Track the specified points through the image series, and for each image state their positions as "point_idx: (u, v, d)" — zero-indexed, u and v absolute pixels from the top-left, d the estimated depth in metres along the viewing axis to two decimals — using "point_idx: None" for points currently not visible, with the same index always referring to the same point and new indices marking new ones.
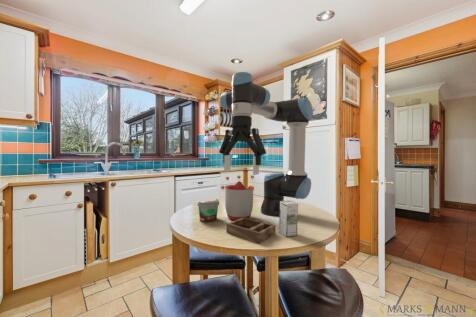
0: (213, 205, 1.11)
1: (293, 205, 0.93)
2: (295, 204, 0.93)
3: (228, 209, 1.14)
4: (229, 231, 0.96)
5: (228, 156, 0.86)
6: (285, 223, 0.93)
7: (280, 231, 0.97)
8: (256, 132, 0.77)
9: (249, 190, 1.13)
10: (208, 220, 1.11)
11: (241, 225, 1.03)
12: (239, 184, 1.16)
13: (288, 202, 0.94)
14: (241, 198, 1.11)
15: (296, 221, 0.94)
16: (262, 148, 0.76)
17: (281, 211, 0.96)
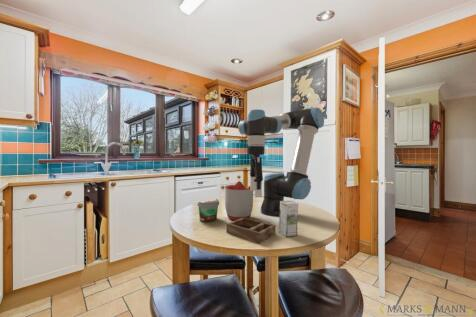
0: (213, 205, 1.11)
1: (293, 205, 0.93)
2: (295, 204, 0.93)
3: (228, 209, 1.14)
4: (229, 231, 0.96)
5: (253, 178, 1.03)
6: (285, 223, 0.93)
7: (280, 231, 0.97)
8: (258, 161, 0.90)
9: (249, 190, 1.13)
10: (208, 220, 1.11)
11: (241, 225, 1.03)
12: (239, 184, 1.16)
13: (288, 202, 0.94)
14: (241, 198, 1.11)
15: (296, 221, 0.94)
16: (259, 175, 0.87)
17: (281, 211, 0.96)
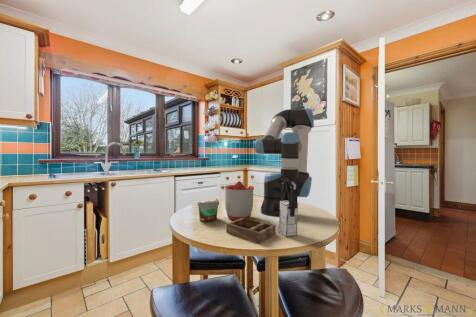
0: (213, 205, 1.11)
1: None
2: None
3: (228, 209, 1.14)
4: (229, 231, 0.96)
5: None
6: (285, 223, 0.93)
7: (280, 231, 0.97)
8: (294, 188, 0.89)
9: (249, 190, 1.13)
10: (208, 220, 1.11)
11: (241, 225, 1.03)
12: (239, 184, 1.16)
13: (288, 202, 0.94)
14: (241, 198, 1.11)
15: (296, 221, 0.94)
16: (294, 203, 0.89)
17: (281, 211, 0.96)
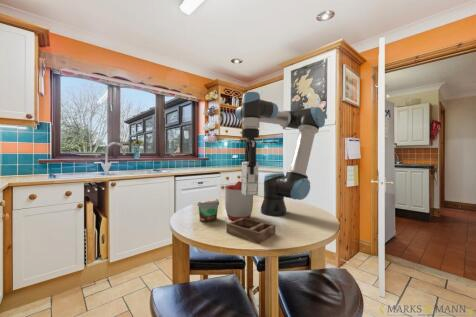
0: (213, 205, 1.11)
1: None
2: None
3: (228, 209, 1.14)
4: (229, 231, 0.96)
5: None
6: (245, 181, 0.93)
7: (242, 191, 0.97)
8: (252, 145, 0.90)
9: None
10: (208, 220, 1.11)
11: (241, 225, 1.03)
12: (239, 184, 1.16)
13: None
14: (241, 198, 1.11)
15: (256, 180, 0.95)
16: (252, 161, 0.90)
17: (242, 171, 0.97)
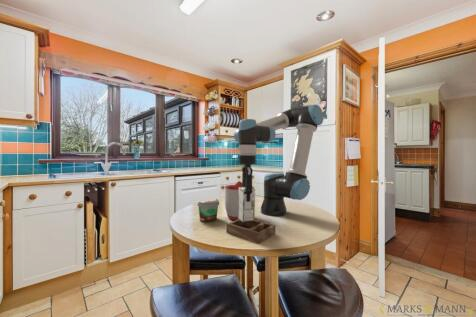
0: (213, 205, 1.11)
1: None
2: (252, 190, 0.95)
3: (228, 209, 1.14)
4: (229, 231, 0.96)
5: None
6: (242, 208, 0.94)
7: (239, 217, 0.98)
8: (248, 173, 0.90)
9: None
10: (208, 220, 1.11)
11: (241, 225, 1.03)
12: (239, 184, 1.16)
13: None
14: None
15: (253, 206, 0.96)
16: (248, 188, 0.90)
17: (239, 197, 0.98)
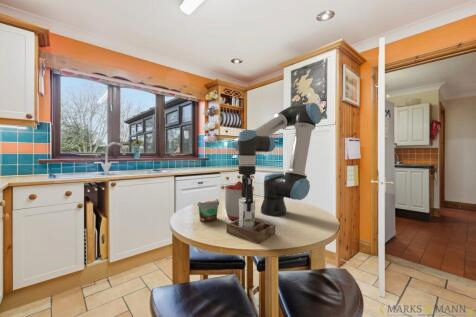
0: (213, 205, 1.11)
1: None
2: None
3: (228, 209, 1.14)
4: (229, 231, 0.96)
5: None
6: (242, 220, 0.94)
7: None
8: (248, 183, 0.90)
9: None
10: (208, 220, 1.11)
11: None
12: (239, 184, 1.16)
13: (245, 200, 0.96)
14: (241, 198, 1.11)
15: (253, 218, 0.96)
16: (249, 198, 0.89)
17: (239, 208, 0.98)
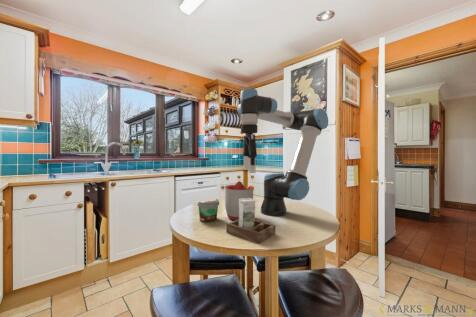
0: (213, 205, 1.11)
1: (249, 202, 0.95)
2: (252, 202, 0.95)
3: (228, 209, 1.14)
4: (229, 231, 0.96)
5: (247, 157, 1.06)
6: (242, 220, 0.94)
7: None
8: (251, 137, 0.92)
9: (249, 190, 1.13)
10: (208, 220, 1.11)
11: None
12: (239, 184, 1.16)
13: (245, 200, 0.96)
14: (241, 198, 1.11)
15: (253, 218, 0.96)
16: (253, 151, 0.90)
17: (239, 208, 0.98)
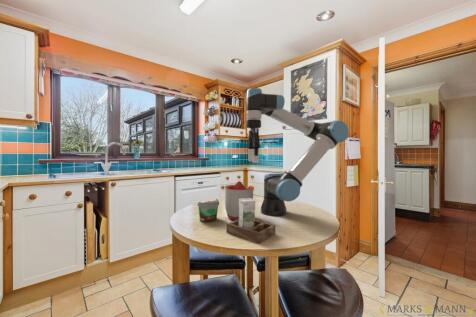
0: (213, 205, 1.11)
1: (249, 202, 0.95)
2: (252, 202, 0.95)
3: (228, 209, 1.14)
4: (229, 231, 0.96)
5: (251, 149, 1.18)
6: (242, 220, 0.94)
7: None
8: (255, 131, 1.04)
9: (249, 190, 1.13)
10: (208, 220, 1.11)
11: None
12: (239, 184, 1.16)
13: (245, 200, 0.96)
14: (241, 198, 1.11)
15: (253, 218, 0.96)
16: (256, 143, 1.02)
17: (239, 208, 0.98)
